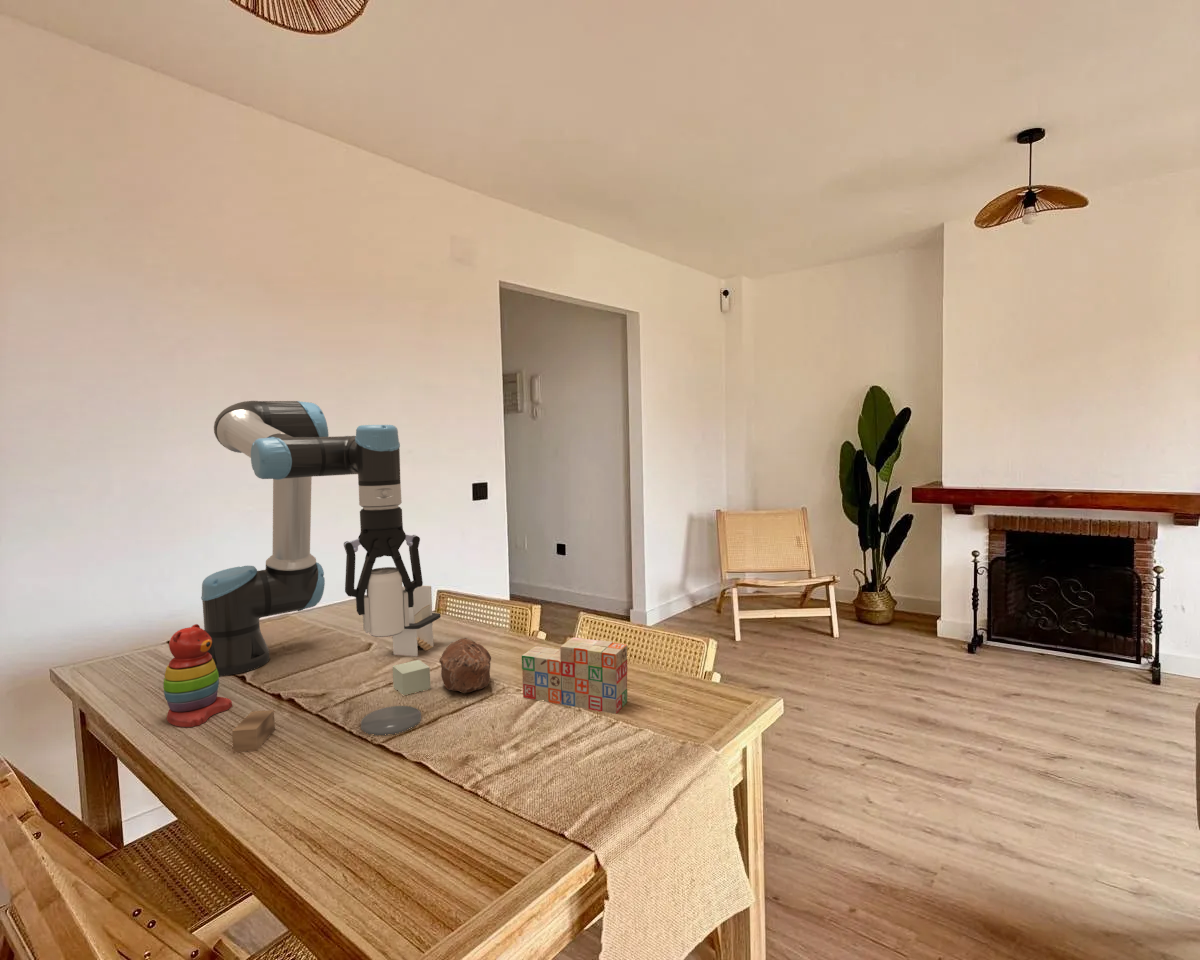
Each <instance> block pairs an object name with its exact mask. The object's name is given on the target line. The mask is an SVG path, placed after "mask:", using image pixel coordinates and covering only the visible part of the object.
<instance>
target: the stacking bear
mask: <svg viewBox="0 0 1200 960" xmlns="http://www.w3.org/2000/svg"><path fill="white" fill-rule="evenodd" d="M211 644H212V638H211V637H210V635H209V634H208V633H207V632H206V631H205V630H204V628H201V627H200V625H199V624H197V623H196V624H193V625H192V626H191V627H183V628H181V629H179V630H177V631H176V632H175V633H173V635H172V636H171V637H170V640H169V643H168V646H169V647H168V648H169V651H170V653H171V656H173V658H172V659H171V660H170V661H169V663H168V664H167V666H166V668H165V672H164V679H163V686H162V687H163V694H164V695H163V696H164V698H165V700H166V702H167V706H168V708H169V710H167V711H168V712H167V713H166V720H167V722H168V723H169V724H170V725H173V726H176V727H179V728H180V727H181V728H193V727H198V726H200V725H202V724H204V723H205V722H207V721H208V719H209V718H210V717H212V716H214V715H216V714H219V713H222V712H226V711H228V710H229V709H231V708H232V707H233V702H232V700H231V698H227V697H223V696H218V691H219V686H220V685H219V684H220V680H219V679H220V676H219V674H218V670H217V668H216V665H215V662H214V660H213V658H212V655H211V654H210V653H208V650H209V649H210V647H211Z"/></svg>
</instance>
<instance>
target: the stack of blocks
mask: <svg viewBox="0 0 1200 960" xmlns="http://www.w3.org/2000/svg"><path fill="white" fill-rule="evenodd" d="M521 670H522V672H521V673H522V675H521V676H522V698H526V699H531V700H537V701H540V700H544V701H543V702H545V701H548V702H547V703H551V704H558V705H564V706H570V707H574V708H575V707H576V708H582V709H585V710H586V709H587V710H593V711H598V712H603V713H609V714H613V715H614V714H615V715H617V714H618V713H619V712H620V711H621V709H623V707H625V705H626V704H627V703H628V644H626V643H625V644H624V643H618V642H617V643H616V642H614V641H609V640H601V639H600V640H598V639H591V638H590V639H589V638H581V637H571V638H569V639H568V640H567V641H566V642H565V643H563V644H561V645H560V648H559V649H558V648H551V647H545V646H534V647H532V648H531V649H529V650H528V651H527V652H525V653H523V654H522V655H521Z"/></svg>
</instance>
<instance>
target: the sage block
mask: <svg viewBox="0 0 1200 960" xmlns="http://www.w3.org/2000/svg"><path fill="white" fill-rule="evenodd" d="M392 681H393V686H392V687H393V689H394V688H395V691H397V690H398V691H399V692H400V693H401V694H403V695H407V694H410V695H412V694H411V693H414V694H416V693H415V692H418V693H420V692H419V691H421V692H424V691H423V690H425V691H427V690H428V689H429V690H431V667H430V666H429V665H428V664H426V663H425V662H423V661H422V660H420V659H417V660H411V661H408V662H404V663H399V664H396V665H392ZM398 691H397V692H398ZM399 692H398V693H399ZM400 693H399V694H400ZM403 695H402V696H403ZM407 696H408V695H407Z"/></svg>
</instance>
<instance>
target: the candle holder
mask: <svg viewBox="0 0 1200 960" xmlns="http://www.w3.org/2000/svg"><path fill="white" fill-rule="evenodd" d="M402 587H403V590H405V587H404V585H402ZM413 600H414V605H413V607H410V608H409V626H404V630H403V631H402V632H401V633H400V634H397V635H394V636H392V648H393V649H392V651H393V652H392V653H393V655H395V656H406V657H419V655H418V654H419V653H418V651H419V650H418V647H420V649H422V650H423V651H424V652H425V651H426V652H427V651H429V650H431V649H433V648H434V631H433V629H434V627H433V622H435V621H437V620H438V619H440V618H441V613H440V612H439V613H437V612H436V613H435V612H433V597H432V585H426V584H425V585H424V584H423V585H422V586H421V587H417V588H415V589H414V591H413Z"/></svg>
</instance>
